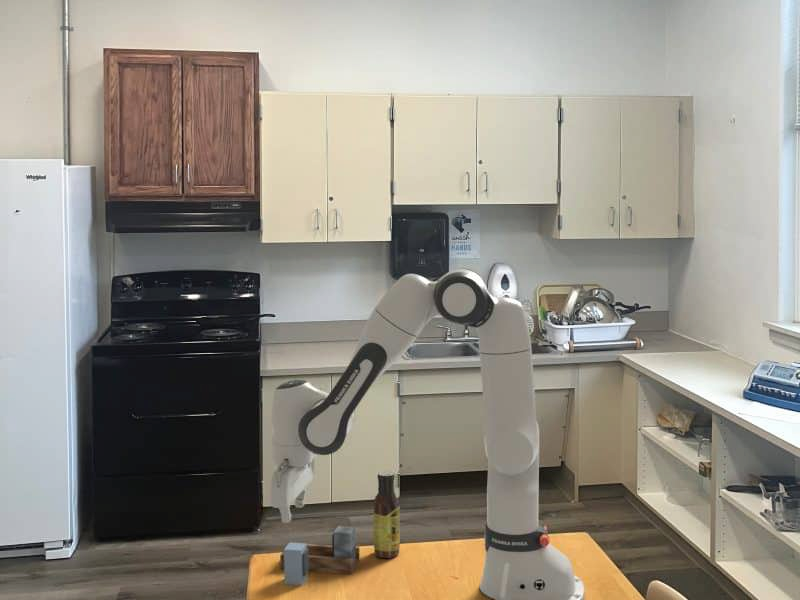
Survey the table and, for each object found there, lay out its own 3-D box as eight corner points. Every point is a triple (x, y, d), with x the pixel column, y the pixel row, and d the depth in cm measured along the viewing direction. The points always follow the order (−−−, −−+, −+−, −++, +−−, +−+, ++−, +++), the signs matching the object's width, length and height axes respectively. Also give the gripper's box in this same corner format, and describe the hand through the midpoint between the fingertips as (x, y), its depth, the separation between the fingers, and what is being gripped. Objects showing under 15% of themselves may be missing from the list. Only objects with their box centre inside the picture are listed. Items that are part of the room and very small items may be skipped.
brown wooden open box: (359, 561, 207) (358, 524, 206) (351, 574, 199) (351, 536, 198) (290, 556, 210) (289, 520, 209) (280, 569, 202) (279, 531, 201)
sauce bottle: (396, 560, 207) (395, 478, 205) (371, 558, 208) (369, 477, 206) (402, 549, 213) (401, 470, 211) (377, 547, 214) (376, 469, 212)
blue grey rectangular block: (310, 577, 198) (309, 543, 197) (304, 585, 194) (303, 550, 193) (290, 576, 199) (289, 542, 198) (284, 583, 195) (283, 549, 194)
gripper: (291, 468, 182) (292, 532, 184) (319, 441, 202) (319, 499, 204) (262, 466, 184) (263, 530, 185) (293, 440, 203) (293, 498, 205)
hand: (293, 513), depth 195 cm, fingers open, 8 cm apart
